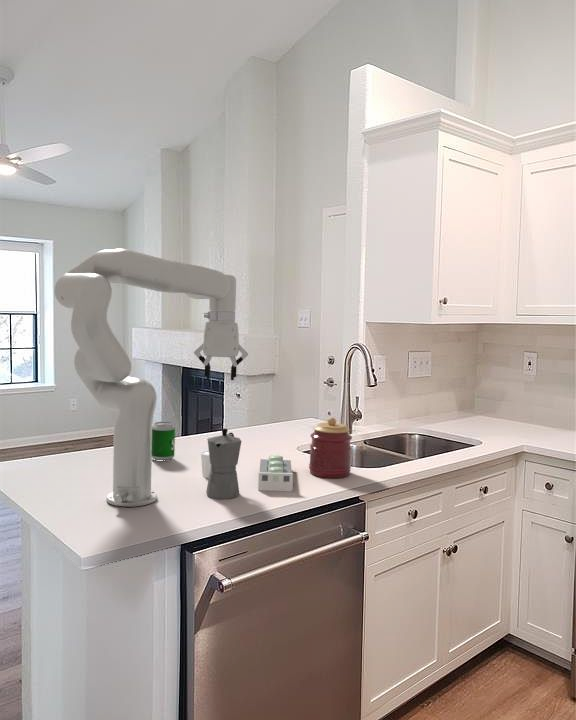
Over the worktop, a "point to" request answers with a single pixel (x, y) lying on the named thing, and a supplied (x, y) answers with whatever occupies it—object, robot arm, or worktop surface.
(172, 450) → the soda can
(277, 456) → the button far
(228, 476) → the coffeepot
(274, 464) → the button middle
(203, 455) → the white cup
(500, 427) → the worktop surface
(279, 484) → the button board
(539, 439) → the worktop surface
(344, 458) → the canister
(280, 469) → the button near
